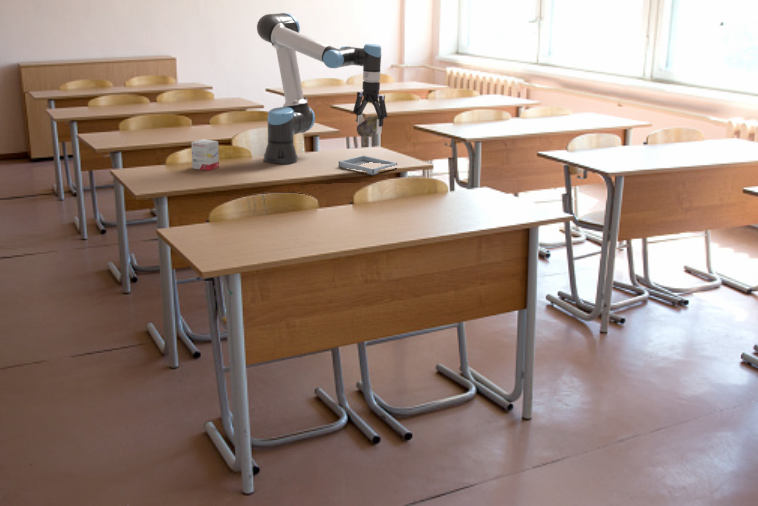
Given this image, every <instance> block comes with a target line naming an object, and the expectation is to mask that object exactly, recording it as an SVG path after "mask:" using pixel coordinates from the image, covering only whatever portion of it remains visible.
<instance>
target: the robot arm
mask: <svg viewBox="0 0 758 506" xmlns="http://www.w3.org/2000/svg"><path fill="white" fill-rule="evenodd" d="M300 29H301V28H300V23H299V21H298V19H297V18H296V17H295V16H294V15H293V14H291V13H285V12H283V13H282V12H280V13H269V14H268V13H267V14H264V15H263V16H261V17H260V18H259V20H258V21H257V23H256V31H257V34H258V37H260V38H261V39H262V40H263V41H265V42H267V43H270V44H271V46H272V47H273V48H274V49H275V50H276V56H277V62H278V67H279V72H280V73H279V74H280V78H281V85H282V91H283V96H284V100H285V101H284V103H283V104H282V106H279V107H274V108H271V109H270V110H269V111H268V112H267V120H266V121H267V145H266V149H265V153H264V155H263V161H264V162H266V163H270V164H275V165H276V164H277V165H288V164H289V165H290V164H294V163H297V162H298V154H297V153H296V147H295V145H294V144H295V143H294V139H295V138H294V136H295V135H298V134H303V133H306V132H308V131H310V130H311V129H312V128H313V126H314V125H315V122H316V114H315V112H314V110H313V109H312V108H311V107H310V106H309V102H308V101H307V100H306V99H305V98H304V93H303V88H302V87H303V86H302V80H301V75H300V74H301V73H300V69H299V68H300V67H299V64H298V63H299V62H298V59H297V58H298V57H297V52H298V53H299V54H302V55H305V56H307V57H310V58H311V59H314V60H316V61H319V62H321V63H324V65H325V66H326V68H329V69H338V68H343V67H348V66H358V67H363V68H362V80H363V81H362V91H361V90H360V91H357V92H356V100H355V102H354V103H355V104H354V107H353V111H352V113H353V114H355V115H356V122H357V126H358V125H360V124H361V123H362V122H363V121H364V114H363V111H364V110H365V108H366V106H367V105H368V103H370V104H372V106H373V107H374V109H375V112H376V116H378V119H377V131H375V132H376V133H375V134H376V135H380V134H382V130H383V127H384V119H386V118H387V119H388V112H387V107H386V102H385V99H386V95H384V94H380V90H381V89H380V88H381V82H380V81H381V66H382V65H381V64H382V63H381V62H382V47H381V45H379V44H376V43H366V44H364V45H363V47H362V48H360V47H355V46H341V47H340V48H336V47H334V46H331V45H329V44H327V43H325V42H321V41H319V40H317V39H315V38H312V37H310V36H307V35H305V34H304V33H303V34H302V33H300V31H301V30H300Z"/></svg>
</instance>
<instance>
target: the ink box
mask: <svg viewBox="0 0 758 506" xmlns="http://www.w3.org/2000/svg"><path fill="white" fill-rule="evenodd" d="M190 143H191V163H192V164H191V165H192V169H195V170H201V171H212V170H214V169H218V168H220V160H219V159H220V158H219V141H218V140H211V139H205V138H202V139H199V140H195V141H191V142H190Z"/></svg>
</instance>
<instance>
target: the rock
mask: <svg viewBox="0 0 758 506" xmlns="http://www.w3.org/2000/svg"><path fill="white" fill-rule="evenodd" d="M377 119H378V116H377V115H374V116H373V115H372V116H369V117H368V118H366V119H365V120H363V122H362V123H361V124H360V125H358V124H357V125H356V132H357V135H358V136H360V137H362V138H365V137H368V138H372V137H373V134H374V133H375V132H376V131H377Z"/></svg>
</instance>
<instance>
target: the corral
mask: <svg viewBox="0 0 758 506" xmlns="http://www.w3.org/2000/svg"><path fill="white" fill-rule="evenodd" d="M369 162H373V163H381V164H389V165H385V166H381V167H377V168H374V169H372V168H367V167H363V166H362V165H361V164H363V163H364V164H365V163H369ZM359 165H361V166H359ZM365 165H366V164H365ZM395 165H397V166H398V162H394V161H390V160H386V159H381V158H376V157H373V156H372V157H371V156H367V155H359V156H355V157H352V158H351V157H350V158H347V159H343V160H339V161H338V168H340V167H342V168H341V169H344V168H349V169H356V170H362V171H366V172H367V174H366V175H370V176H375V175H379V173H377V172H378V171H379V170H381V169H385V168H388V167H392V166H395Z"/></svg>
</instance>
